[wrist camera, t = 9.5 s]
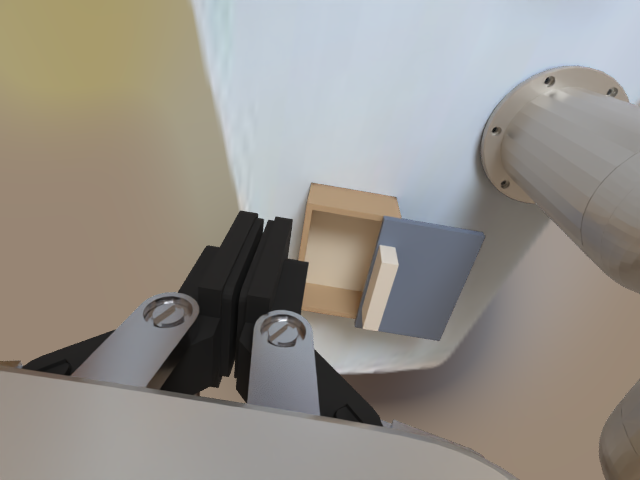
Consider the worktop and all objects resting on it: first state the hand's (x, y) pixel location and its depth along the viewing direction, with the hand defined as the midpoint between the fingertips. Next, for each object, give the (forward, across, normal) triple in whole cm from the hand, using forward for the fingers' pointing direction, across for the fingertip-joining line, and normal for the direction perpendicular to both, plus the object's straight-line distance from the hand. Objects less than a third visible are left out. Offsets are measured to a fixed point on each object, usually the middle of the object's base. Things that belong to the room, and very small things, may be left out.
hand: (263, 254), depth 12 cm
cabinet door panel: (+22, -12, +15) cm, 29 cm away
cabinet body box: (+27, -5, +15) cm, 31 cm away
